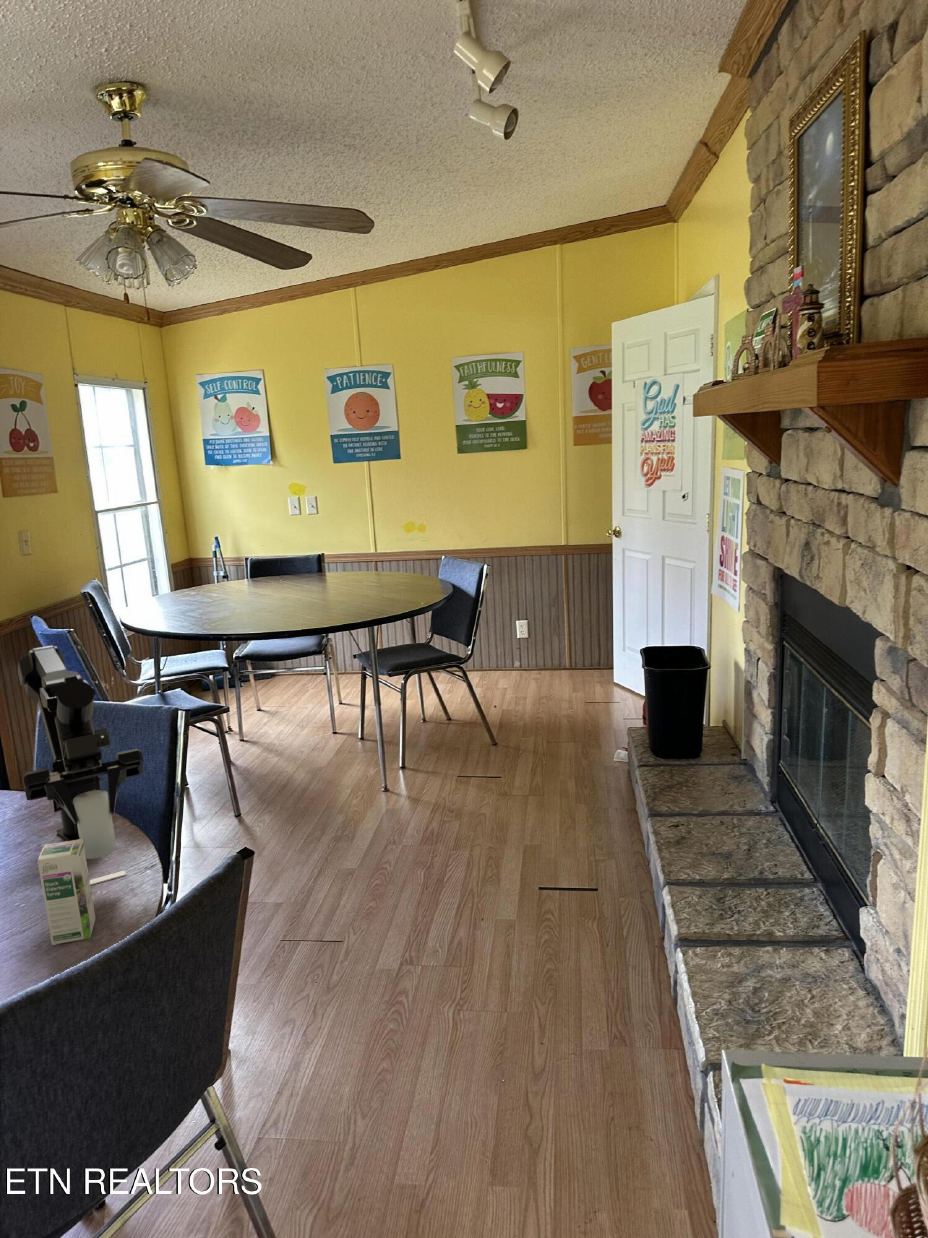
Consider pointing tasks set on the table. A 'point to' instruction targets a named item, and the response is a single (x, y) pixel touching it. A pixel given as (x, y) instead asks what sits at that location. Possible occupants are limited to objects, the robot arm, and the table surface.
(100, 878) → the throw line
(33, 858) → the table surface
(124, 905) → the table surface
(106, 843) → the grey-green rounded cylinder
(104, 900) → the table surface
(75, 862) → the syrup box
